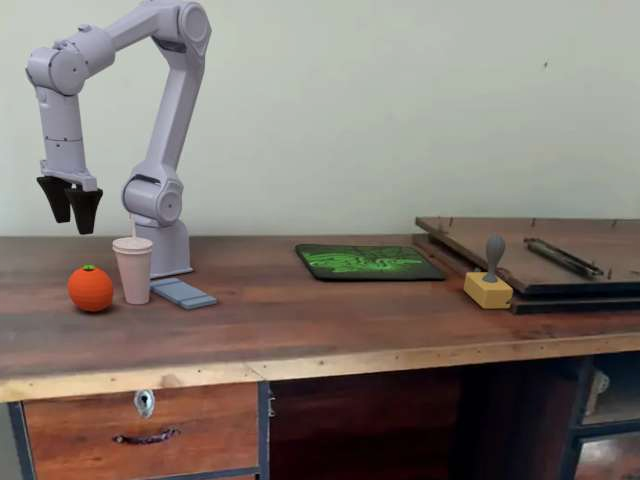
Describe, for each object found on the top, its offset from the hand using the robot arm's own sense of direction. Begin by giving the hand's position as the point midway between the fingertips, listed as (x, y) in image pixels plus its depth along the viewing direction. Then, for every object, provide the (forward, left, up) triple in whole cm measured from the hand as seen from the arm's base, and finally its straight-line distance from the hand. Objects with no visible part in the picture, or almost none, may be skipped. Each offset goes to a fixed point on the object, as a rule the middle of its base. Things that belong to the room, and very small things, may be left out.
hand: (74, 228), depth 127 cm
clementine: (+3, +9, -11) cm, 14 cm away
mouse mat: (-55, +14, -10) cm, 58 cm away
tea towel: (-13, +11, -10) cm, 20 cm away
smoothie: (-5, +9, -11) cm, 15 cm away
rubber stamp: (-60, +41, -11) cm, 74 cm away
